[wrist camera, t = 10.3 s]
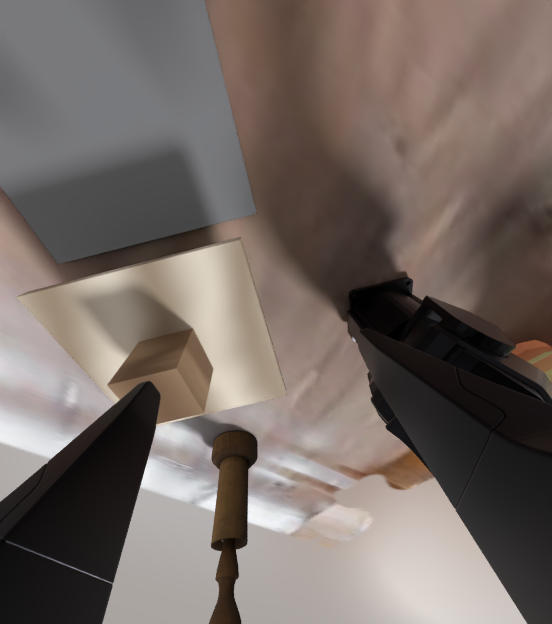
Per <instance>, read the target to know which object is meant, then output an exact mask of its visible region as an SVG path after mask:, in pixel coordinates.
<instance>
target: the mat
mask: <svg viewBox="0 0 552 624" xmlns="http://www.w3.org/2000/svg"><path fill="white" fill-rule="evenodd" d="M0 187H1V188H2V189H3V191H4V192H5V193H6V195H7V196H8V198H9V199H10V200H11V202H12V203H13V204H14V206H15V207H16V208H17V210H18V211H19V212H20V214H21V215H22V216H23V218H24V219H25V220H26V222H27V223H28V224H29V226H30V227H31V228H32V230H33V231H34V232H35V234H36V235H37V236H38V238H39V239H40V241H41V242H42V243H43V245H44V246H45V247H46V249H47V250H48V251H49V253H50V254H51V255H52V257H53V258H54V259H55V261H56V262H57V263H58V264H61V263H65V262H69V261H73V260H77V259H81V258H84V257H88V256H92V255H96V254H100V253H104V252H108V251H112V250H116V249H120V248H124V247H128V246H132V245H135V244H139V243H143V242H147V241H151V240H155V239H159V238H163V237H167V236H171V235H175V234H179V233H182V232H186V231H190V230H194V229H198V228H202V227H206V226H210V225H214V224H218V223H222V222H226V221H230V220H233V219H237V218H241V217H245V216H249V215H253V214H257V212H256V208H255V204H254V200H253V196H252V192H251V188H250V184H249V180H248V176H247V171H246V167H245V163H244V159H243V155H242V151H241V147H240V143H239V139H238V135H237V131H236V127H235V122H234V118H233V114H232V110H231V106H230V102H229V98H228V94H227V90H226V86H225V82H224V78H223V73H222V69H221V65H220V61H219V57H218V53H217V49H216V45H215V41H214V37H213V33H212V28H211V24H210V20H209V16H208V12H207V8H206V4H205V0H0Z"/></svg>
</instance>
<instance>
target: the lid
mask: <svg viewBox="0 0 552 624" xmlns="http://www.w3.org/2000/svg"><path fill="white" fill-rule="evenodd" d="M17 299H18V300H19V301H20V302H21V303H22V304H23V305H24V306H25V307H26V308H27V309H28V310H29V312H30V313H31V314H32V315H33V316H34V317H35V318H36V319H37V320H38V321H39V322H40V324H41V325H42V326H43V327H44V328H45V329H46V330H47V331H48V332H49V333H50V334H51V335H52V337H53V338H54V339H55V340H56V341H57V342H58V343H59V344H60V345H61V346H62V347H63V349H64V350H65V351H66V352H67V353H68V354H69V355H70V356H71V357H72V358H73V359H74V360H75V362H76V363H77V364H78V365H79V366H80V367H81V368H82V369H83V370H84V371H85V372H86V373H87V375H88V376H89V377H90V378H91V379H92V380H93V381H94V382H95V383H96V384H97V385H98V387H99V388H100V389H101V390H102V391H103V392H104V393H105V394H106V395H107V396H108V397H109V398H110V400H111V401H112V402H113V403H114V404H116V403H117V402H118V401H119V400H120V399H121V398H123V397H124V396H125V395H126V394H127V393H128V392H130V391H131V390H132V389H133V388H134V387H135V386H137V385H138V384H139V383H141V382H145V381H151V382H152V383H153V384H154V385H155V387H156V388H157V390H158V391H159V392H160V395H161V400H160V406H159V412H158V418H157V423H156V426H159V425H163V424H168V423H172V422H176V421H180V420H184V419H189V418H193V417H197V416H201V415H206V414H210V413H214V412H218V411H222V410H227V409H231V408H235V407H239V406H244V405H248V404H252V403H256V402H260V401H265V400H269V399H273V398H277V397H282V396H286V395H287V393H286V388H285V384H284V381H283V377H282V374H281V371H280V367H279V364H278V361H277V357H276V354H275V351H274V347H273V344H272V340H271V337H270V334H269V330H268V327H267V324H266V320H265V317H264V314H263V310H262V307H261V303H260V300H259V297H258V293H257V290H256V287H255V283H254V280H253V277H252V273H251V270H250V266H249V263H248V260H247V256H246V253H245V250H244V246H243V243H242V240H241V237H239V238H235V239H231V240H227V241H223V242H219V243H215V244H212V245H208V246H204V247H200V248H196V249H192V250H188V251H184V252H180V253H177V254H173V255H169V256H165V257H161V258H157V259H153V260H149V261H145V262H142V263H138V264H134V265H130V266H126V267H122V268H118V269H114V270H110V271H107V272H103V273H99V274H95V275H91V276H87V277H83V278H79V279H75V280H72V281H68V282H64V283H60V284H56V285H52V286H48V287H44V288H40V289H36V290H33V291H29V292H26V293H24V294H22V295H20V296H17Z"/></svg>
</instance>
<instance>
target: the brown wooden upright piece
mask: <svg viewBox="0 0 552 624" xmlns="http://www.w3.org/2000/svg"><path fill="white" fill-rule="evenodd" d="M256 460H257V440H256V438H255V437H254V436H253V435H252V434H250V433H246V432H242V431H231V432H226V433H223V434H221V435H219V436H218V437H217V438H216V439H215V441H214V443H213V451H212V462H213V464H214V465H215V466H216V467H217V468H218V469H219V470H220V472H219V482H218V491H217V500H216V509H215V517H214V526H213V534H212V542H211V548H213V549H214V550H217V551H222V553H221V556H220V560H219V564H218V569H217V573H216V581H217V582H218V584H219V597H218V601H217V604H216V606H215V609H214V611H213V614H212V617H211V619H210V622H209V624H241V618H240V615H239V611H238V608H237V605H236V602H235V599H234V584H235V581H236V579H238V577H239V572H238V562H237V555H236V549H240V548H242V547H244V546H246V545H247V515H248V469H249V468H250V467H251V466H252V465H253V464H254V463H255V462H256Z"/></svg>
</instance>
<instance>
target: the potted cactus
mask: <svg viewBox="0 0 552 624" xmlns="http://www.w3.org/2000/svg"><path fill="white" fill-rule="evenodd" d="M511 353H513V354H515V355H516V356H518V357H520V358H522V359H523V360H525V361H527V362H528V363H530V364H532V365H534V366H535V367H537V368H539V369H540V370H542V371H543V372H544V373H545V374H546V376H547V377H548V378H549V380H550V381H551V383H552V347H550V346H549V345H548V344H547V343H544V342H541V341H538V340H532V341H527V342H522V343H518V344H516V348H515V349H514V350H513V351H512V352H511Z"/></svg>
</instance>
